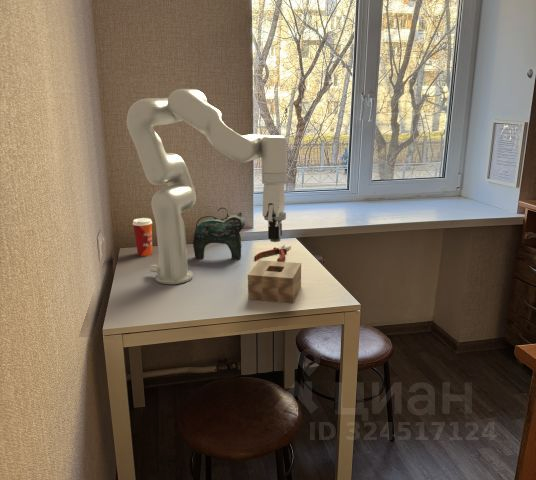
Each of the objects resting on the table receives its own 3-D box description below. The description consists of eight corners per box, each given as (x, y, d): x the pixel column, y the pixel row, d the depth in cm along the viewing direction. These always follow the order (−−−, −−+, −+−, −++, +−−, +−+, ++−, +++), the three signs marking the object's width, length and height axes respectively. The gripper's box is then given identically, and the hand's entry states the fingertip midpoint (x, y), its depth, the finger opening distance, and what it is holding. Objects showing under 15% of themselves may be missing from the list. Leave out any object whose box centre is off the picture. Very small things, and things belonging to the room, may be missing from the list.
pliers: (300, 250, 200) (300, 244, 199) (280, 265, 182) (280, 259, 182) (275, 247, 205) (275, 241, 204) (253, 261, 187) (252, 255, 187)
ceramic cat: (246, 256, 192) (244, 206, 187) (243, 261, 186) (242, 209, 180) (196, 255, 194) (193, 205, 189) (192, 260, 188) (189, 209, 182)
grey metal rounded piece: (262, 242, 149) (261, 215, 147) (267, 237, 155) (267, 210, 153) (283, 244, 148) (283, 216, 145) (288, 238, 154) (287, 211, 151)
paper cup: (150, 257, 192) (147, 222, 188) (132, 256, 193) (128, 222, 189) (157, 251, 200) (155, 217, 196) (140, 250, 201) (137, 217, 197)
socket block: (248, 299, 152) (247, 274, 149) (259, 282, 165) (259, 260, 162) (292, 303, 148) (292, 278, 146) (301, 286, 161) (301, 263, 159)
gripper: (268, 173, 155) (269, 229, 160) (254, 182, 139) (256, 244, 144) (292, 174, 153) (292, 230, 158) (280, 183, 137) (281, 245, 143)
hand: (275, 236), depth 151 cm, fingers closed on grey metal rounded piece, 3 cm apart
